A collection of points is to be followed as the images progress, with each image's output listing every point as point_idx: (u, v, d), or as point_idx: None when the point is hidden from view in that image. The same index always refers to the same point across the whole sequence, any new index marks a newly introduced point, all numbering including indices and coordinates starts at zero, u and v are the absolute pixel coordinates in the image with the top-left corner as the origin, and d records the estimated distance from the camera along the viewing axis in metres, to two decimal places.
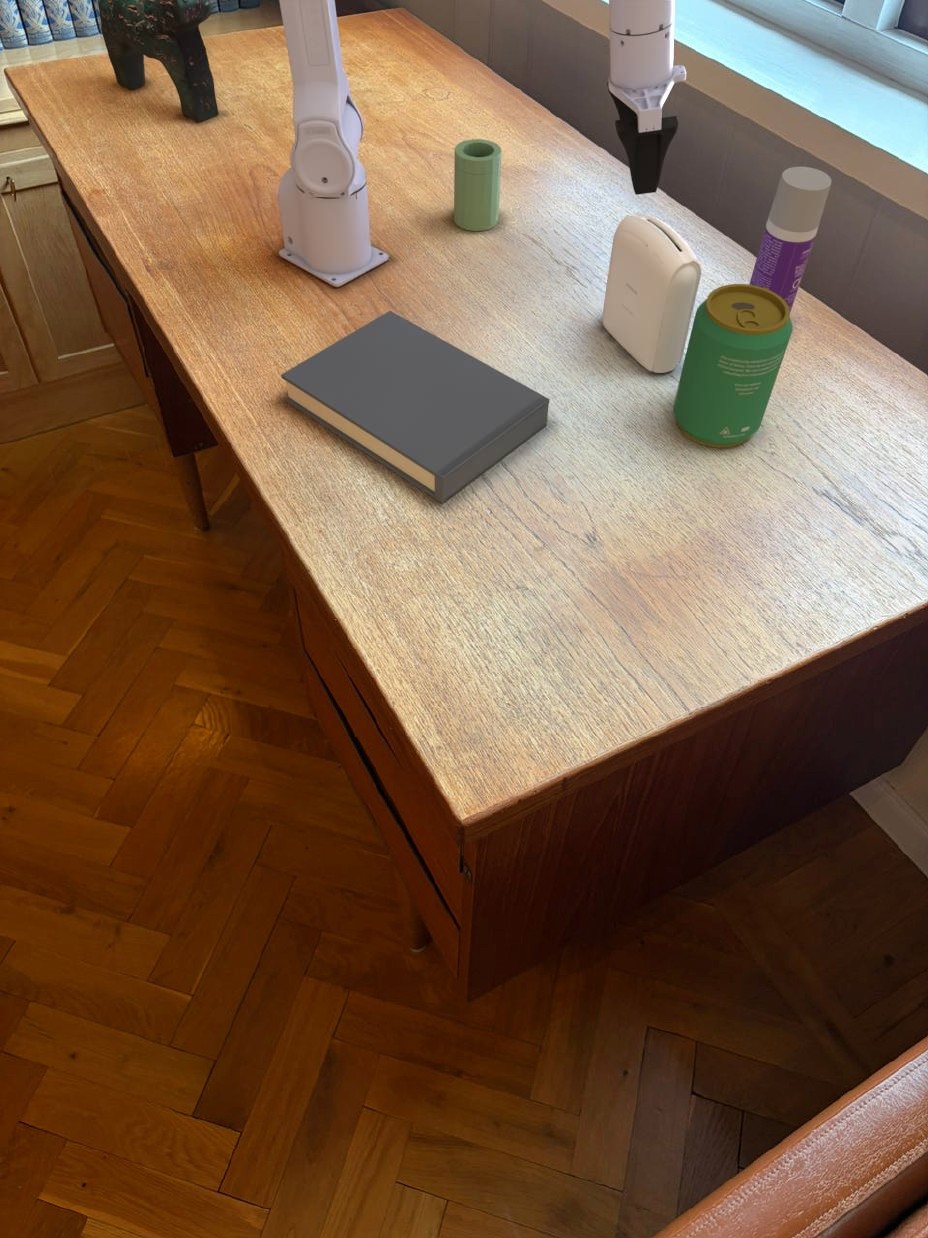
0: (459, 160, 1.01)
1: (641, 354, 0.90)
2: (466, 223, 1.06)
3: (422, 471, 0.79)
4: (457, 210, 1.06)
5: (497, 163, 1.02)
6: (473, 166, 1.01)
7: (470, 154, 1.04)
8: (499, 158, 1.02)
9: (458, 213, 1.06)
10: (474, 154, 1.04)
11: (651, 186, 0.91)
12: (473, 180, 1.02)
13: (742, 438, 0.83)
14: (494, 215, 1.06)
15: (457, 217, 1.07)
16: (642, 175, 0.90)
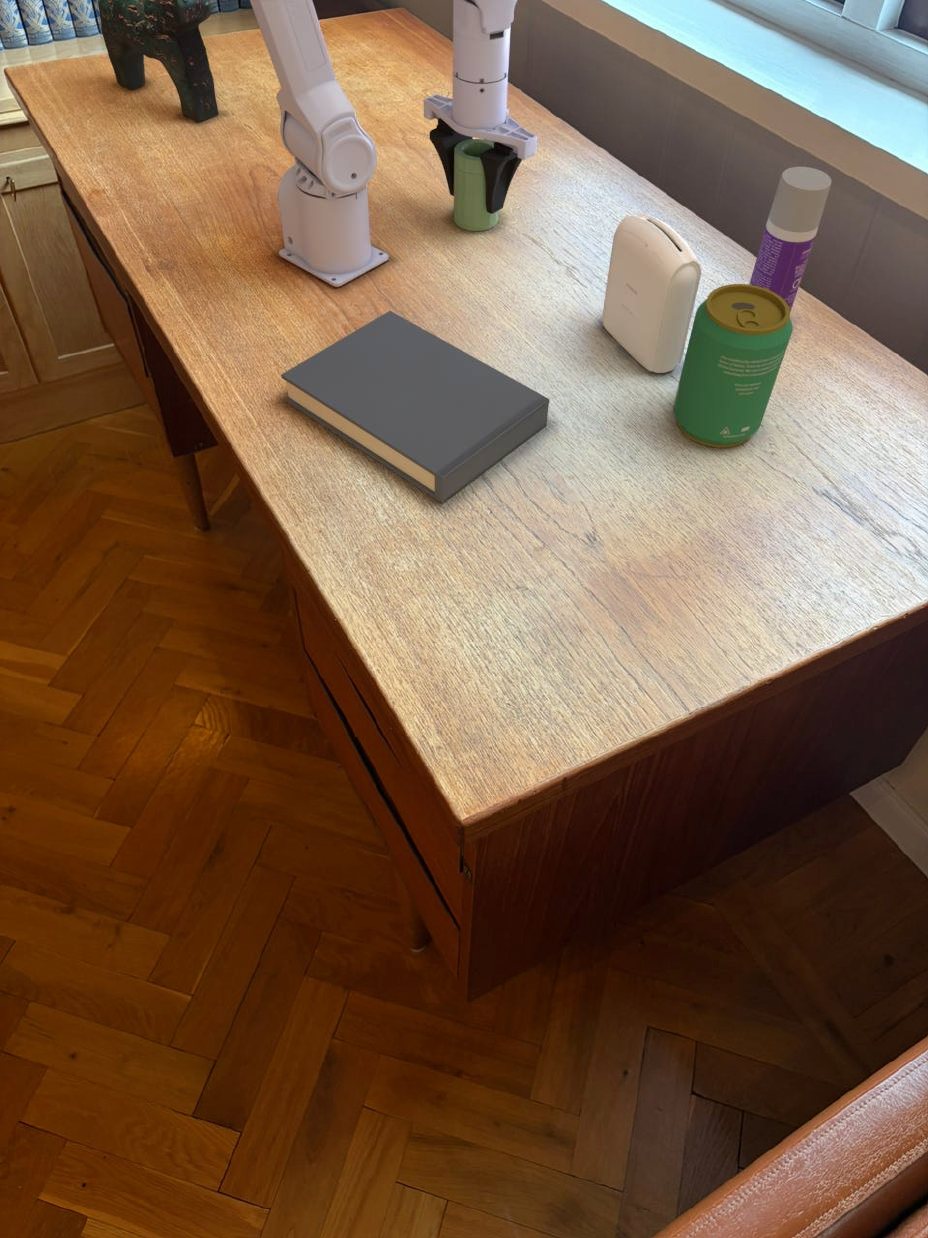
0: (459, 160, 1.01)
1: (641, 354, 0.90)
2: (466, 223, 1.06)
3: (422, 471, 0.79)
4: (457, 210, 1.06)
5: None
6: (473, 166, 1.01)
7: (470, 154, 1.04)
8: None
9: (458, 213, 1.06)
10: (474, 154, 1.04)
11: (501, 203, 1.05)
12: (473, 180, 1.02)
13: (742, 438, 0.83)
14: (494, 214, 1.06)
15: (457, 217, 1.07)
16: (497, 195, 1.04)
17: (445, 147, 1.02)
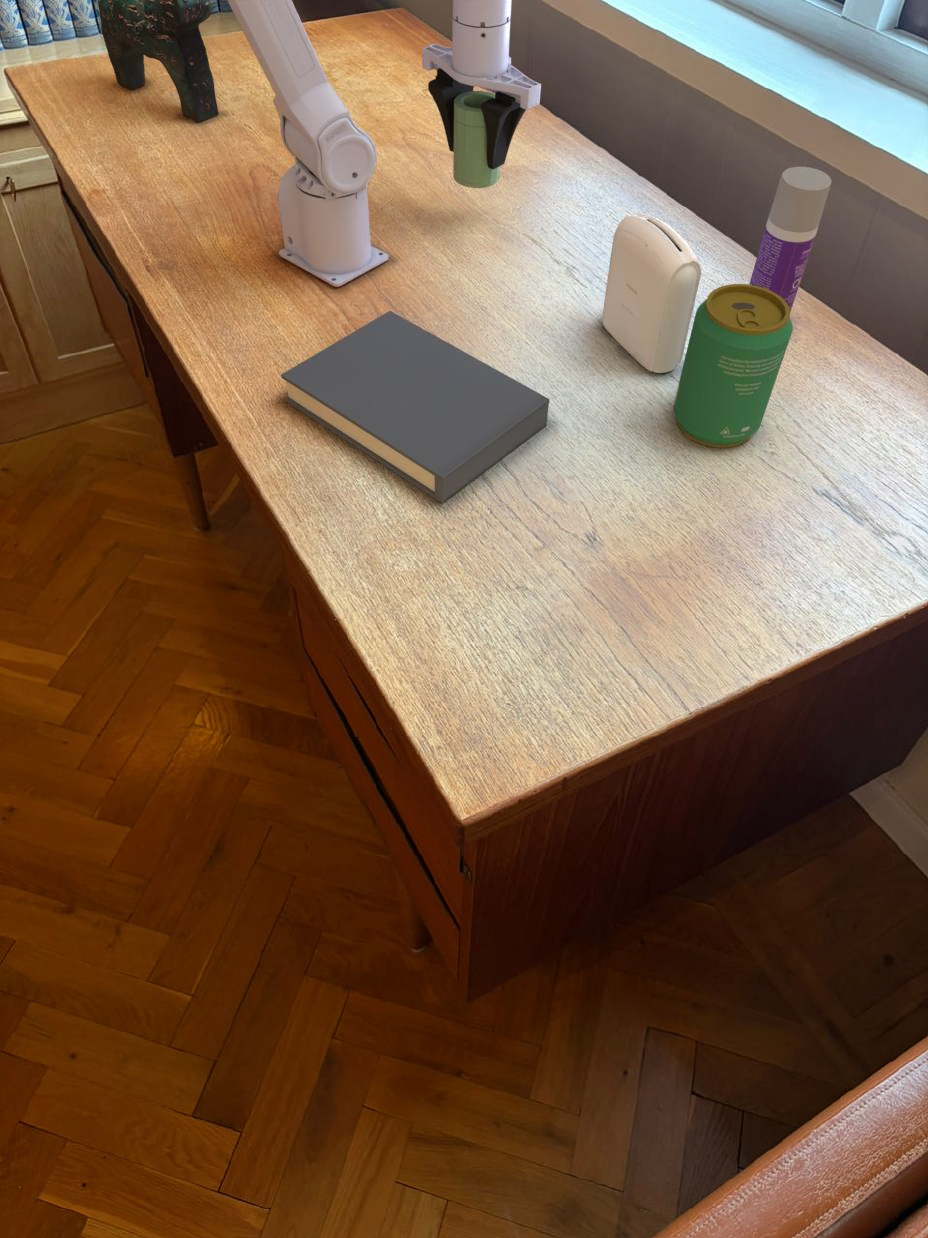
0: (459, 112, 0.97)
1: (641, 354, 0.90)
2: (466, 179, 1.02)
3: (422, 471, 0.79)
4: (456, 166, 1.02)
5: None
6: (473, 118, 0.97)
7: (470, 107, 1.00)
8: None
9: (458, 169, 1.02)
10: (474, 107, 1.00)
11: (503, 159, 1.01)
12: (473, 133, 0.98)
13: (742, 438, 0.83)
14: (495, 171, 1.02)
15: (457, 173, 1.02)
16: (498, 150, 0.99)
17: (444, 98, 0.98)
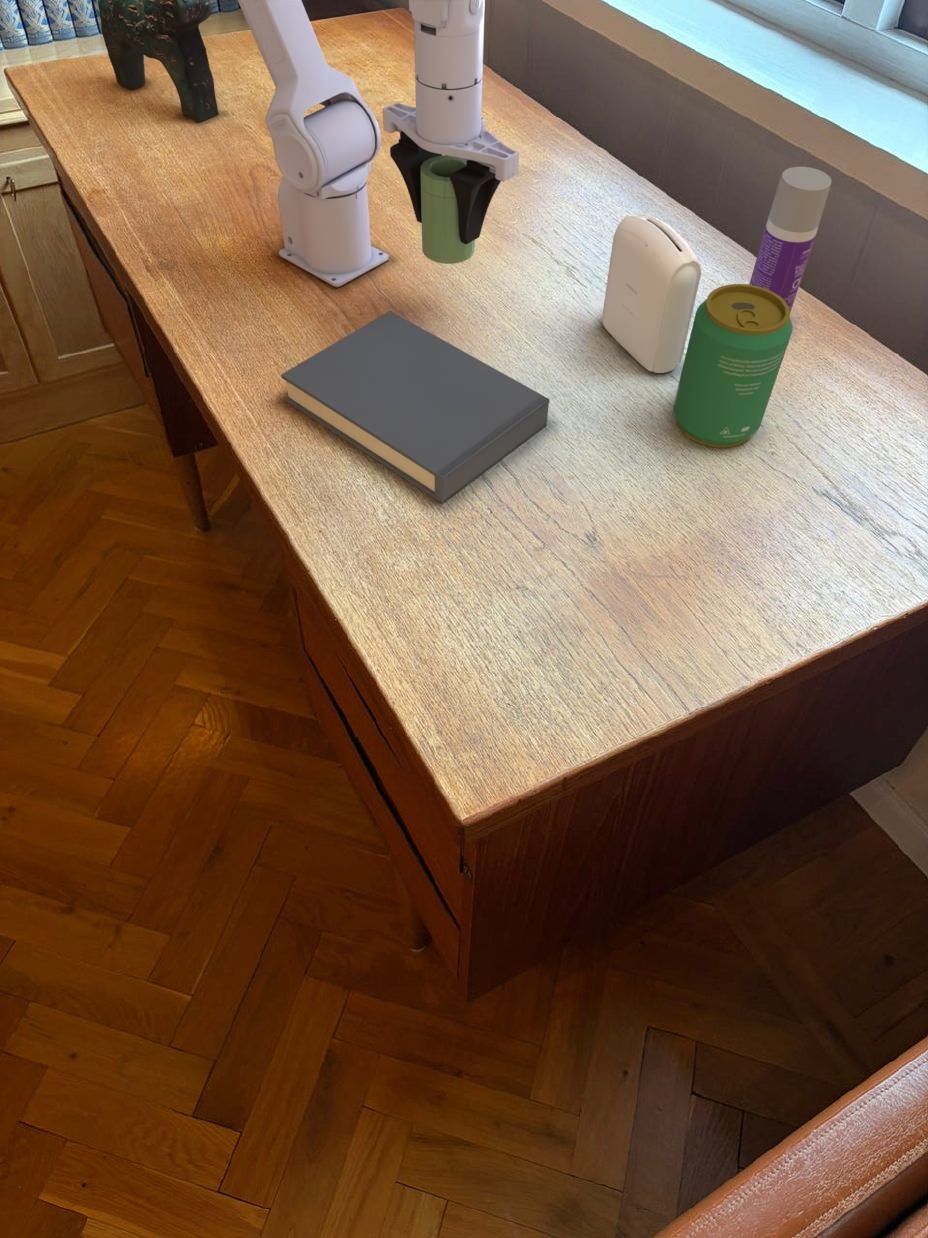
0: (426, 181, 0.85)
1: (641, 354, 0.90)
2: (436, 255, 0.89)
3: (422, 471, 0.79)
4: (425, 239, 0.89)
5: None
6: (443, 188, 0.84)
7: (440, 173, 0.87)
8: None
9: (426, 243, 0.89)
10: (444, 173, 0.87)
11: (477, 232, 0.88)
12: (443, 204, 0.85)
13: (742, 438, 0.83)
14: (470, 244, 0.89)
15: (426, 248, 0.90)
16: (472, 223, 0.87)
17: (409, 166, 0.85)
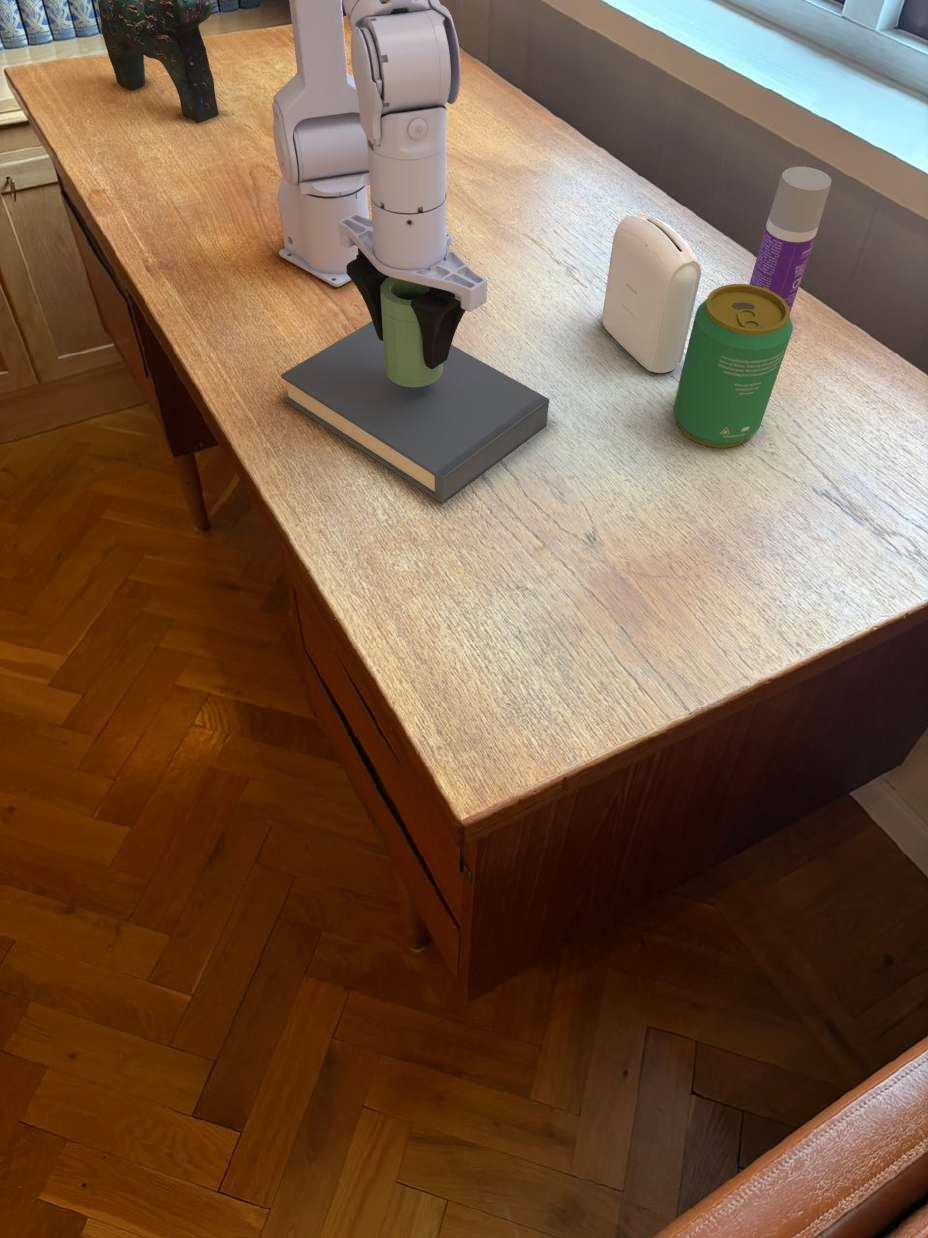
0: (386, 303, 0.76)
1: (641, 354, 0.90)
2: (399, 378, 0.81)
3: (422, 471, 0.79)
4: (387, 361, 0.80)
5: None
6: (404, 312, 0.75)
7: (403, 291, 0.78)
8: None
9: (389, 365, 0.80)
10: (408, 290, 0.78)
11: (444, 355, 0.79)
12: (405, 329, 0.77)
13: (742, 438, 0.83)
14: (437, 367, 0.81)
15: (388, 369, 0.81)
16: (438, 347, 0.78)
17: (367, 286, 0.76)
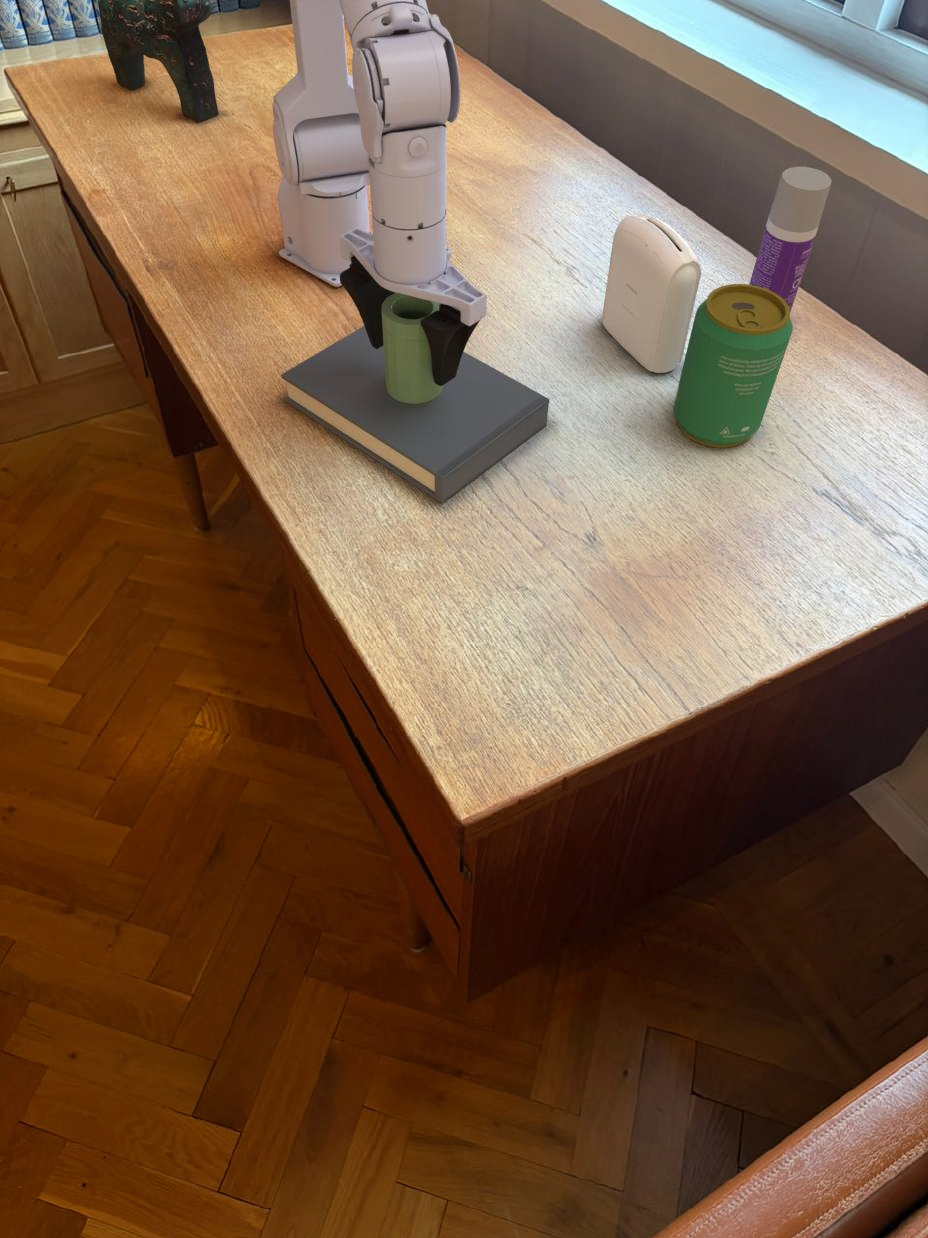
0: (387, 322, 0.77)
1: (641, 354, 0.90)
2: (400, 395, 0.82)
3: (422, 471, 0.79)
4: (388, 378, 0.82)
5: None
6: (405, 331, 0.77)
7: (403, 309, 0.80)
8: None
9: (390, 382, 0.82)
10: (409, 309, 0.80)
11: (453, 372, 0.80)
12: (406, 347, 0.78)
13: (742, 438, 0.83)
14: None
15: (389, 386, 0.82)
16: (447, 365, 0.78)
17: (360, 295, 0.78)
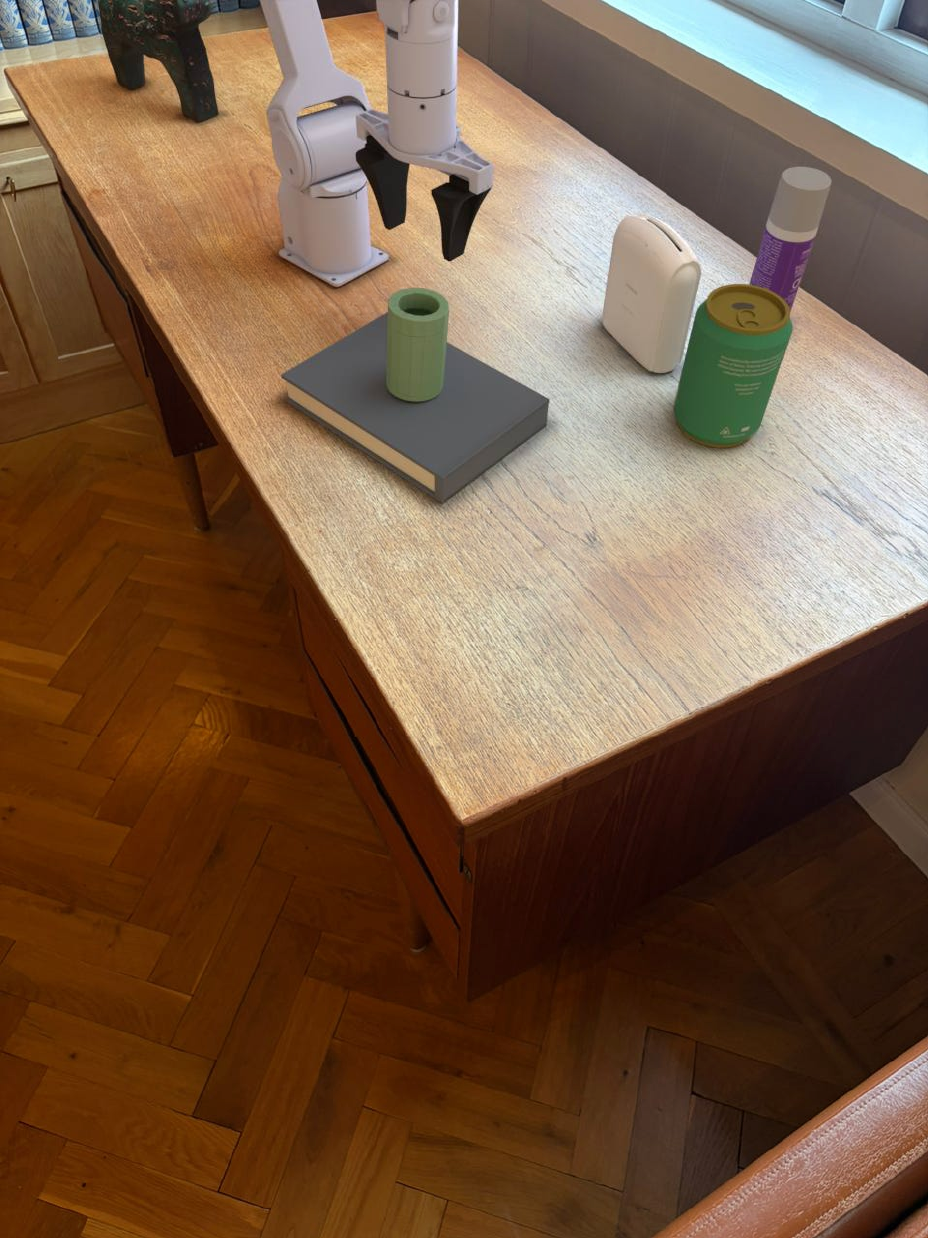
0: (393, 317, 0.77)
1: (641, 354, 0.90)
2: (400, 391, 0.82)
3: (422, 471, 0.79)
4: (389, 374, 0.81)
5: (443, 323, 0.78)
6: (410, 327, 0.77)
7: (409, 306, 0.80)
8: (446, 317, 0.78)
9: (390, 378, 0.82)
10: (414, 306, 0.80)
11: (461, 248, 0.85)
12: (410, 343, 0.78)
13: (742, 438, 0.83)
14: (438, 383, 0.82)
15: (389, 382, 0.82)
16: (455, 240, 0.83)
17: (375, 171, 0.82)
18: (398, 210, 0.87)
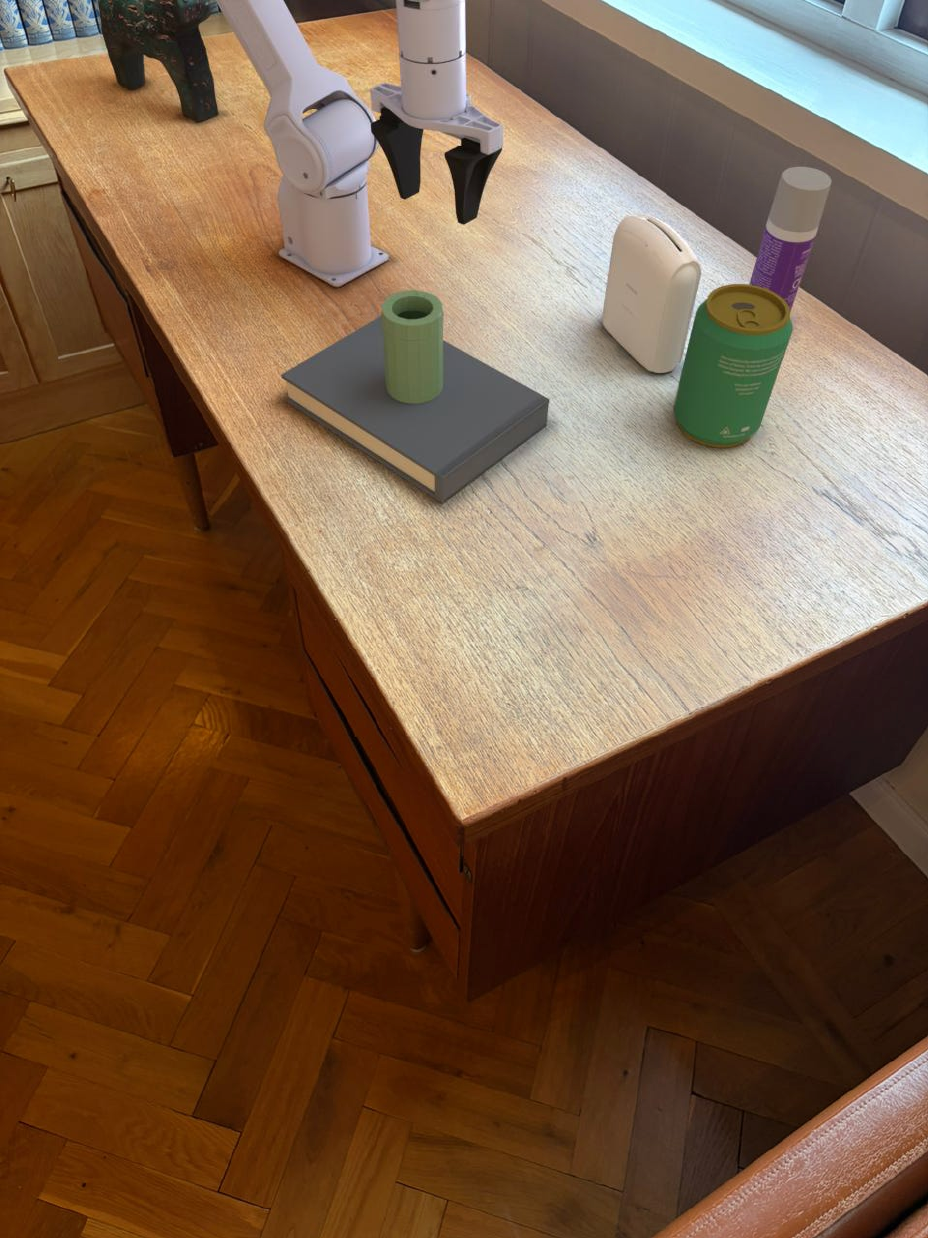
0: (387, 322, 0.77)
1: (641, 354, 0.90)
2: (400, 394, 0.82)
3: (422, 471, 0.79)
4: (388, 378, 0.82)
5: (437, 325, 0.78)
6: (404, 331, 0.77)
7: (404, 309, 0.80)
8: (439, 319, 0.77)
9: (389, 382, 0.82)
10: (409, 309, 0.80)
11: (474, 212, 0.88)
12: (405, 347, 0.78)
13: (742, 438, 0.83)
14: (436, 384, 0.82)
15: (389, 386, 0.82)
16: (469, 203, 0.87)
17: (389, 141, 0.86)
18: (413, 180, 0.91)
